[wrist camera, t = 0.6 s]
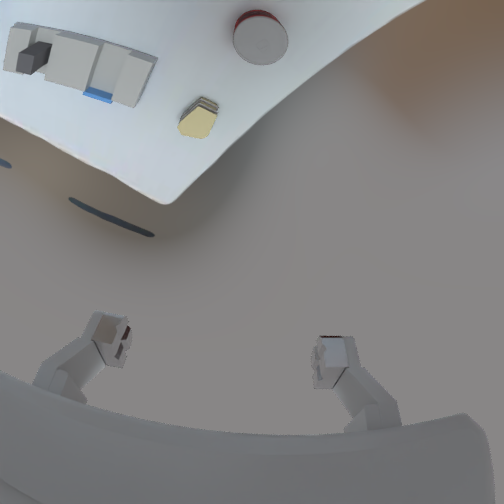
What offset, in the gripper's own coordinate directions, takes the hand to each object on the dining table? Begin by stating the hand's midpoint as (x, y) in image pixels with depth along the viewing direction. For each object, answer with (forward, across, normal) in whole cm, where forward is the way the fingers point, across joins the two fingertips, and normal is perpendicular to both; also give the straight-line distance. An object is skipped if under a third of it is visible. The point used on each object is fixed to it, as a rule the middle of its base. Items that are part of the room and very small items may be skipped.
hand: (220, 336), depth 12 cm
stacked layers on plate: (+52, +11, 0) cm, 53 cm away
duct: (+45, +36, -14) cm, 59 cm away
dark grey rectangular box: (+42, +42, -16) cm, 62 cm away
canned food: (+47, +1, -17) cm, 50 cm away
